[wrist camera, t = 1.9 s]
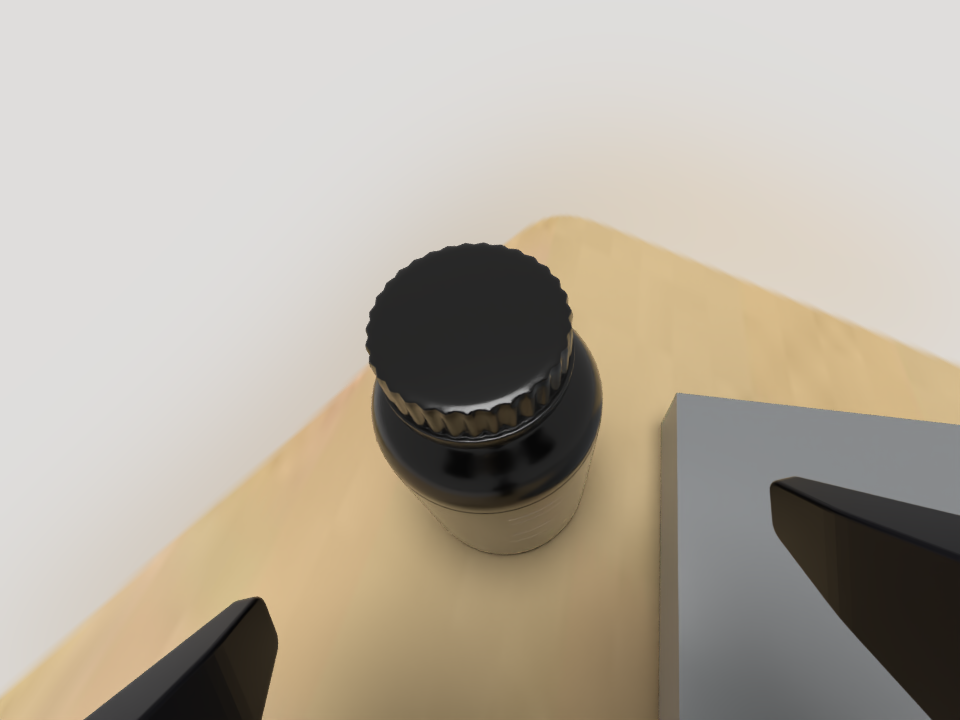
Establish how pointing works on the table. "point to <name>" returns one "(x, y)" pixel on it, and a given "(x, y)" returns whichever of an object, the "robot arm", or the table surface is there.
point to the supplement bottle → (484, 394)
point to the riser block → (775, 558)
